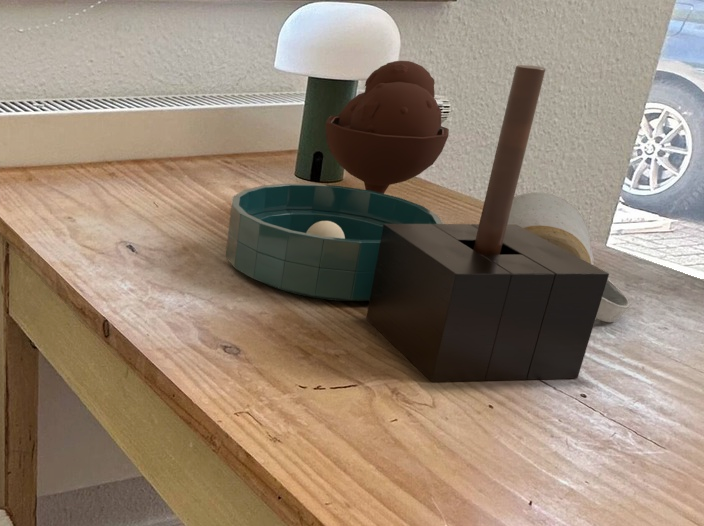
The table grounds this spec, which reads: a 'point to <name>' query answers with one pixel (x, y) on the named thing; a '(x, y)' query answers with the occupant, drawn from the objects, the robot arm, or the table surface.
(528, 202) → the ceramic mug
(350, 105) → the ice cream bowl
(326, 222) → the dough ball
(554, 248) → the holder
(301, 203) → the bowl
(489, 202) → the stick
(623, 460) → the table surface
